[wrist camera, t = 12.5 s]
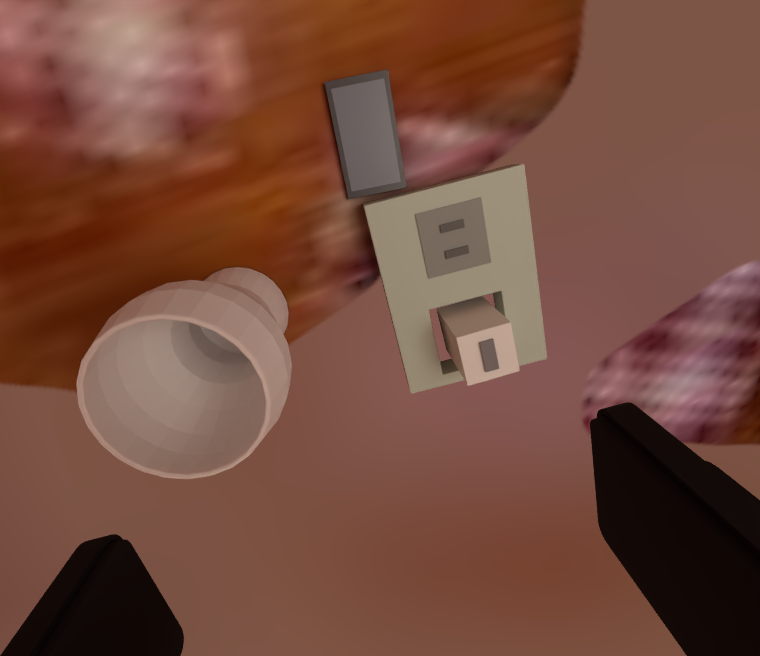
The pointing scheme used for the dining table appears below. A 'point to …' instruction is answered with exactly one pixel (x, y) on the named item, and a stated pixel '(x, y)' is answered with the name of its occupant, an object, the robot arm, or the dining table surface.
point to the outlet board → (457, 263)
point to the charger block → (478, 340)
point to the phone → (366, 133)
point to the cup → (189, 374)
